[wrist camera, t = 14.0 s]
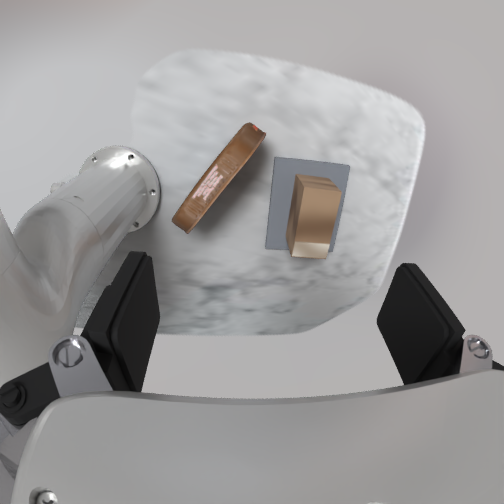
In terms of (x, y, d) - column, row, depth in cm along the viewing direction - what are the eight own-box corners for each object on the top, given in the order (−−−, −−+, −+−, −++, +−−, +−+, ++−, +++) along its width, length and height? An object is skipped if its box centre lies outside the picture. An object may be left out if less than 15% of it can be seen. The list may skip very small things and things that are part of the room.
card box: (295, 173, 36) (304, 187, 31) (328, 178, 37) (342, 192, 32) (285, 236, 41) (291, 257, 36) (316, 238, 41) (326, 259, 36)
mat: (265, 246, 42) (265, 248, 42) (274, 156, 36) (275, 157, 35) (331, 249, 43) (332, 251, 42) (348, 165, 36) (350, 166, 36)
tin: (194, 217, 40) (184, 248, 32) (176, 205, 39) (161, 233, 31) (265, 130, 34) (272, 141, 27) (245, 115, 33) (247, 121, 26)
